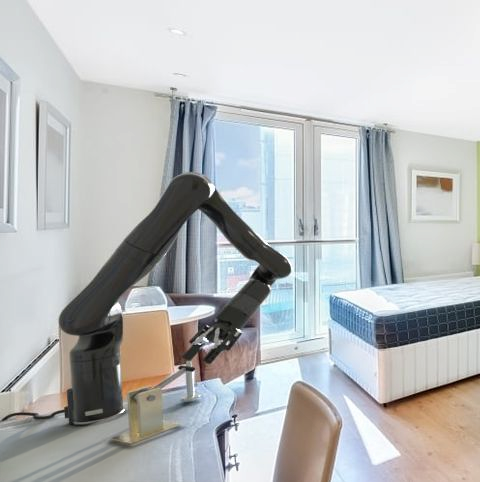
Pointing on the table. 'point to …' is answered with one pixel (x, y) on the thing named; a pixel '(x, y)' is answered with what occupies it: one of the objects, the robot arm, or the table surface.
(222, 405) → the table surface
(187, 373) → the screw
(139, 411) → the bracket
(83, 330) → the robot arm
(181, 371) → the lever
